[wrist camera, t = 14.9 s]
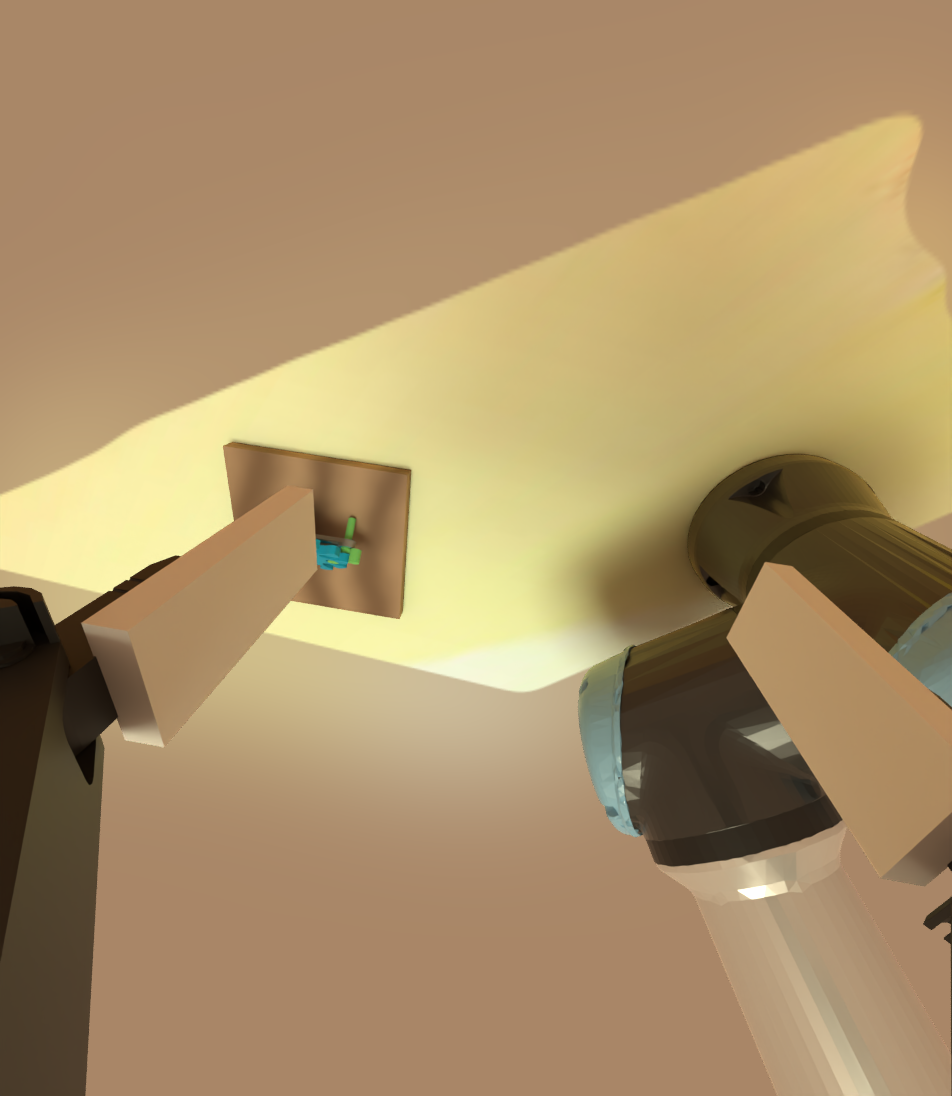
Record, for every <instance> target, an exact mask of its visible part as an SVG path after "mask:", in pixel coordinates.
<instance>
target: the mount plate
mask: <svg viewBox="0 0 952 1096" xmlns="http://www.w3.org/2000/svg"><path fill="white" fill-rule="evenodd" d="M223 450H224V456H225V463H226V470H227V477H228V483H229V490H230V497H231V504H232V510H233V517H234V521H235V520H237V519H238V518H240V517H241V516H243V515H244V514H246V513H247V512H249V511H250V510H252V509H253V508H255V507H256V506H258V505H259V504H261V503H262V502H264V501H265V500H267V499H268V498H270V497H271V496H273V495H274V494H276V493H277V492H279V491H280V490H282V489H283V488H285V487H286V486H294V487H300V488H307V489H313V498H314V517H315V534H318V535H325V536H331V537H338V538H345V533H346V528H347V523H348V519H349V518H355V519H356V522H355V527H354V532H353V537H352V540H353V541H355V542H356V546H355V549H359V550H361V551H362V552H361V557H360V562H359V564H351V563H348V564H347V568H343V569H339V568H336V567H333V570H325V569H321V568H320V565H317V571H316V572H315V573H314V574H313V575H312V576H311V578H310V579H309V580H308V581H307V582H306V583H305V585H304V586H303V587H302V588H301V589H300V590H299V592H298V593H297V594H296V595H295V596H294V597H293V599H292V600H291V601H296V602H302V603H308V604H314V605H320V606H325V607H331V608H337V609H343V610H349V611H355V612H361V613H367V614H373V615H379V616H384V617H390V618H396V619H400V616H401V614H402V612H403V599H404V582H405V565H406V548H407V531H408V514H409V497H410V480H411V470H406V469H399V468H393V467H387V466H380V465H374V464H368V463H361V462H355V461H349V460H342V459H336V458H330V457H323V456H317V455H311V454H304V453H298V452H291V451H285V450H279V449H272V448H266V447H260V446H253V445H247V444H241V443H234V442H232V443H229V444H227V445H224V446H223ZM320 545H327V544H321V543H320ZM340 549H341V548H340Z"/></svg>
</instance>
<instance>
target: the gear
mask: <svg viewBox="0 0 952 1096" xmlns="http://www.w3.org/2000/svg"><path fill="white" fill-rule="evenodd" d="M355 522H356V519H355V518H349V519H348V523H347V528H346V533H345V538H338V537H331V536H325V535H318V534H315V536H316V555H317V565H320V568H321V569H325V570H333V567H336V568H339V569H343V568H347V564H348V563H351V564H359V562H360V557H361V552H362V551H361V550H359V549H355V546H356V542H355V541H353V540H352V537H353V532H354V527H355ZM320 543H321V544H327V545H320ZM340 548H341V549H340Z"/></svg>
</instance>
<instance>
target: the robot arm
mask: <svg viewBox="0 0 952 1096" xmlns="http://www.w3.org/2000/svg"><path fill="white" fill-rule="evenodd" d="M688 554H689V558H690V562H691V564H692V566H693V568H694V570H695V572H696V573H697V575H698V576H699V578H700V579H701V581H702V582H703V583H704V585H705V586H706V587H707V588H708V589H709V590H710V591H711V592H712V593H713V594H714V595H715V596H716V597H718V598H719V599H721V600H722V601H724V602H726V603H728V604H729V605H731V606H733V607H732V608H729V609H726V610H724V611H722V612H719V613H717V614H715V615H712V616H710V617H708V618H705V619H703V620H701V621H698V622H696V623H693V624H691V625H688V626H686V627H683V628H681V629H678V630H676V631H673V632H671V633H668V634H666V635H663V636H661V637H659V638H656V639H654V640H651V641H649V642H646V643H644V644H641V645H639V646H635V645H631V646H628V647H627V648H626V649H624V651H623V652H622V653H620V654H618V655H616V656H613V657H611V658H609V659H607V660H605V661H603V662H601V663H599V664H597V665H595V666H593V667H592V668H591V669H589V670H588V672H587V673H586V674H585V676H584V678H583V680H582V683H581V686H580V690H579V700H578V715H579V727H580V733H581V740H582V745H583V750H584V754H585V758H586V762H587V766H588V770H589V772H590V776H591V779H592V783H593V785H594V788H595V791H596V793H597V796H598V798H599V800H600V802H601V803H602V804H603V805H604V806H605V809H606V814H607V817H608V818H609V820H610V821H611V823H612V824H613V825H614V826H615V828H616V829H617V830H619V831H620V832H622V833H624V834H629V835H632V836H634V837H638V836H641V835H644V837H645V839H646V841H647V843H648V846H649V849H650V851H651V854H652V856H653V859H654V862H655V864H656V866H657V868H658V869H659V870H661V871H662V872H664V873H665V874H667V875H668V876H670V877H671V878H673V879H674V880H676V881H677V882H679V883H680V884H682V885H683V886H685V887H686V888H688V889H689V890H690V891H691V893H693V895H694V897H695V900H696V902H697V904H698V907H699V909H700V911H701V914H702V916H703V919H704V921H705V923H706V926H707V928H708V931H709V933H710V935H711V938H712V940H713V943H714V945H715V948H716V950H717V952H718V955H719V957H720V960H721V962H722V964H723V967H724V969H725V971H726V974H727V976H728V979H729V981H730V984H731V986H732V988H733V991H734V993H735V996H736V998H737V1000H738V1003H739V1005H740V1008H741V1010H742V1013H743V1015H744V1017H745V1020H746V1022H747V1024H748V1027H749V1029H750V1032H751V1034H752V1037H753V1039H754V1041H755V1044H756V1046H757V1049H758V1051H759V1053H760V1056H761V1058H762V1061H763V1063H764V1065H765V1068H766V1070H767V1073H768V1075H769V1077H770V1080H771V1082H772V1085H773V1087H774V1089H775V1092H776V1094H777V1096H952V897H951V898H949V899H948V900H947V901H945V902H944V903H943V904H942V905H940V906H939V907H938V908H937V909H935V910H934V911H933V912H931V913H930V914H929V915H928V916H927V917H926V919H925V921H924V923H923V924H924V925H925V926H926V927H928V928H929V929H931V930H932V929H934V928H935V927H936V926H938V925H939V924H940V923H942V922H948V923H950V924H951V933H949V934H948V935H947V936H946V937H944V940H946V941H947V942H949V943H950V944H951V1053H950V1051H949V1050H948V1048H947V1046H946V1045H945V1043H944V1041H943V1039H942V1038H941V1036H940V1034H939V1032H938V1031H937V1029H936V1027H935V1026H934V1024H933V1022H932V1020H931V1018H930V1017H929V1015H928V1013H927V1011H926V1010H925V1008H924V1007H923V1005H922V1003H921V1001H920V999H919V998H918V996H917V994H916V992H915V991H914V989H913V987H912V985H911V984H910V982H909V980H908V978H907V977H906V975H905V973H904V972H903V970H902V968H901V966H900V965H899V963H898V961H897V960H896V958H895V956H894V954H893V953H892V951H891V949H890V947H889V946H888V944H887V942H886V940H885V939H884V937H883V935H882V934H881V932H880V930H879V928H878V926H877V925H876V923H875V921H874V919H873V918H872V916H871V914H870V913H869V911H868V909H867V907H866V906H865V904H864V902H863V900H862V899H861V897H860V895H859V894H858V892H857V890H856V888H855V887H854V885H853V883H852V881H851V880H850V878H849V876H848V875H847V873H846V871H845V869H844V867H843V866H842V864H841V862H840V849H841V846H842V842H843V838H844V835H845V832H846V828H847V827H848V829H849V830H850V831H851V833H852V835H853V836H854V838H855V839H856V841H857V843H858V844H859V846H860V847H861V849H862V850H863V852H864V853H865V855H866V857H867V858H868V860H869V861H870V863H871V864H872V866H873V867H874V869H875V871H876V872H877V874H878V875H879V877H880V878H882V879H887V880H892V881H898V882H903V883H909V884H914V885H920V886H926V885H927V884H928V883H929V882H931V881H932V880H933V879H934V878H935V877H937V876H938V875H939V874H940V873H941V872H942V871H944V870H945V869H946V868H947V867H949V869H950V870H951V871H952V549H950V548H948V547H946V546H944V545H942V544H940V543H938V542H936V541H934V540H932V539H930V538H928V537H926V536H925V535H922V534H921V533H918V532H917V531H915V530H913V529H911V528H909V527H907V526H905V525H903V524H901V523H899V522H897V521H895V520H894V519H892V518H891V516H890V515H889V513H888V512H887V510H886V509H885V507H884V506H883V505H882V503H881V502H880V500H879V499H878V498H877V496H876V495H875V493H874V492H873V490H872V489H871V487H870V486H869V485H868V484H867V483H866V482H865V481H864V480H863V479H862V478H861V477H860V476H858V475H857V474H856V473H854V472H853V471H851V470H849V469H847V468H845V467H843V466H841V465H839V464H836V463H834V462H832V461H830V460H827V459H824V458H821V457H817V456H812V455H802V454H792V455H782V456H776V457H771V458H767V459H764V460H761V461H758V462H755V463H753V464H750V465H748V466H746V467H744V468H742V469H740V470H739V471H737V472H735V473H734V474H732V475H730V476H729V477H728V478H726V479H725V480H724V481H722V482H721V483H720V484H719V485H718V486H717V487H716V488H714V489H713V490H712V492H711V493H710V494H709V495H708V496H707V497H706V498H705V500H704V501H703V502H702V504H701V505H700V507H699V508H698V510H697V512H696V514H695V516H694V518H693V520H692V523H691V526H690V530H689V535H688ZM316 571H317V555H316V536H315V517H314V498H313V489H307V488H300V487H294V486H286V487H285V488H283V489H282V490H280V491H279V492H277V493H276V494H274V495H273V496H271V497H270V498H268V499H267V500H265V501H264V502H262V503H261V504H259V505H258V506H256V507H255V508H253V509H252V510H250V511H249V512H247V513H246V514H244V515H243V516H241V517H240V518H238V519H237V520H235V521H234V522H232V523H231V524H229V525H228V526H226V527H225V528H223V529H222V530H220V531H219V532H217V533H216V534H214V535H213V536H211V537H210V538H208V539H207V540H205V541H204V542H202V543H201V544H199V545H198V546H196V547H195V548H193V549H192V550H190V551H188V552H187V553H185V554H184V555H182V556H173V557H170V558H168V559H165V560H162V561H159V562H157V563H154V564H151V565H149V566H148V567H146V568H144V569H143V570H141V571H140V572H138V573H137V574H135V575H133V576H132V577H130V580H126V581H124V582H122V583H121V584H119V585H118V586H116V587H114V588H113V591H108V592H107V593H105V594H103V595H102V596H100V597H99V598H97V599H96V600H94V601H92V602H91V603H89V604H88V605H86V606H84V607H83V608H81V609H80V610H78V611H77V612H75V613H73V614H72V615H70V616H69V617H67V618H66V619H64V620H62V621H61V622H59V623H58V624H56V625H54V622H53V620H52V618H51V615H50V613H49V610H48V608H47V605H46V603H45V601H44V598H43V596H42V593H40V592H38V591H36V590H34V589H32V588H25V587H24V588H23V587H4V588H0V1096H85V1091H86V1072H87V1054H88V1035H89V1017H90V999H91V981H92V962H93V961H92V960H93V943H94V926H95V925H94V924H95V908H96V889H97V871H98V870H97V869H98V852H99V833H100V816H101V798H102V779H103V760H104V745H103V742H102V739H101V736H100V734H101V733H102V732H103V731H104V730H105V729H106V728H107V727H108V726H109V725H110V724H111V723H112V722H113V721H114V720H115V719H117V720H118V722H119V725H120V728H121V730H122V733H123V736H124V738H125V740H127V741H133V742H139V743H144V744H150V745H155V746H160V747H165V746H166V745H167V744H168V743H169V741H170V740H171V739H172V738H173V737H174V736H175V734H176V733H177V732H178V731H179V730H180V728H182V726H183V725H184V724H185V723H186V722H187V721H188V719H189V718H190V717H191V716H192V715H193V714H194V712H195V711H196V710H197V709H198V708H199V707H200V705H201V704H202V703H203V702H204V701H205V699H206V698H207V697H208V696H209V695H210V694H211V693H212V691H213V690H214V689H215V688H216V687H217V686H218V685H219V683H220V682H221V681H222V680H223V679H224V678H225V676H226V675H227V674H228V673H229V672H230V671H231V669H232V668H233V667H234V666H235V665H236V664H237V662H238V661H239V660H240V659H241V658H242V657H243V655H244V654H245V653H246V652H247V651H248V650H249V648H250V647H251V646H252V645H253V644H254V643H255V642H256V640H257V639H258V638H259V637H260V636H261V634H262V633H263V632H264V631H265V630H266V629H267V628H268V626H269V625H270V624H271V623H272V622H273V621H274V619H275V618H276V617H277V616H278V615H279V614H280V612H281V611H282V610H283V609H284V608H285V607H286V606H287V604H288V603H289V602H290V601H291V600H292V599H293V597H294V596H295V595H296V594H297V593H298V592H299V590H300V589H301V588H302V587H303V586H304V585H305V583H306V582H307V581H308V580H309V579H310V578H311V576H312V575H313V574H314V573H315V572H316Z"/></svg>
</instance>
